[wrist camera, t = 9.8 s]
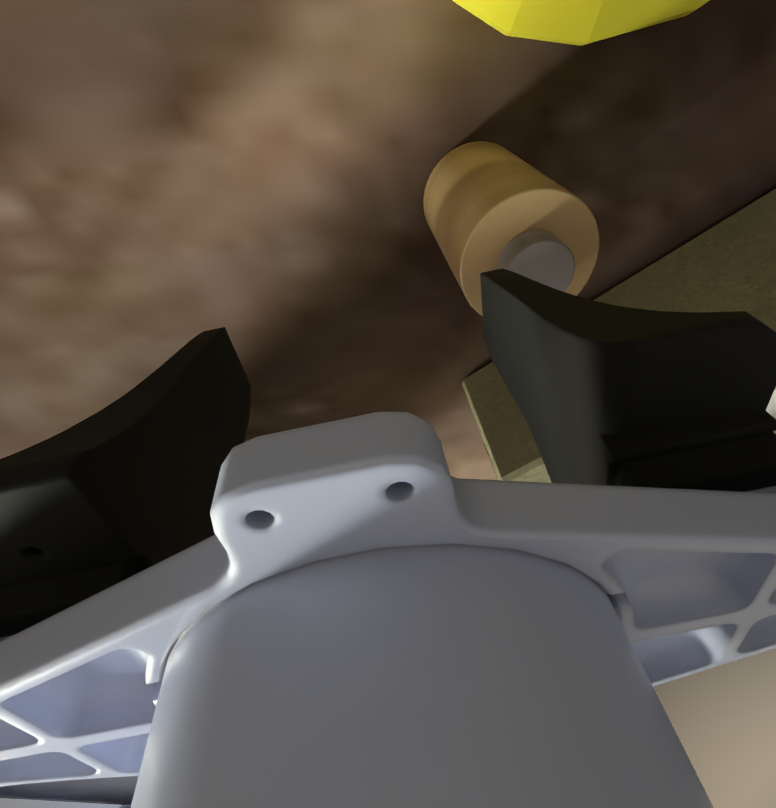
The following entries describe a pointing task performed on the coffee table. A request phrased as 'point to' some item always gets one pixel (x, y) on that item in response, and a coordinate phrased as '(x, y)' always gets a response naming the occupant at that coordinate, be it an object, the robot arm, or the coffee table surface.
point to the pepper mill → (507, 221)
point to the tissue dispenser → (651, 290)
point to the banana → (576, 17)
